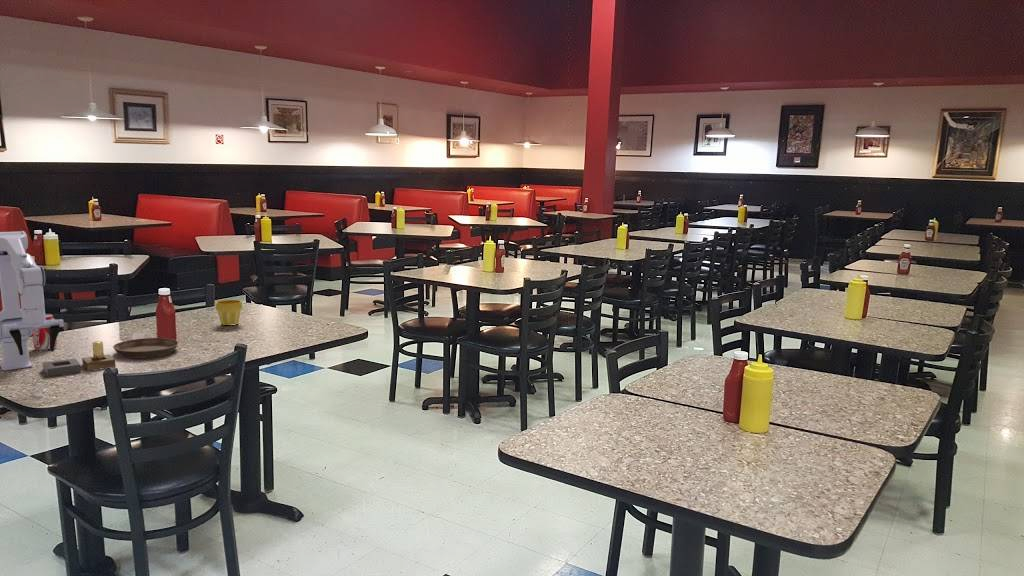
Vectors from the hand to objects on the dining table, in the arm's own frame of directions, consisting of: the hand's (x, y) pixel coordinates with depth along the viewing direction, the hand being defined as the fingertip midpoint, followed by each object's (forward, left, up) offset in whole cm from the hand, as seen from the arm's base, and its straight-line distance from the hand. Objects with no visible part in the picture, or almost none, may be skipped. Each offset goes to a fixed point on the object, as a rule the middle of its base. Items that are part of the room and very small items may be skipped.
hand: (36, 352), depth 215 cm
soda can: (-46, +8, -10) cm, 48 cm away
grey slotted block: (-12, +8, -10) cm, 18 cm away
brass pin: (-12, +18, -10) cm, 24 cm away
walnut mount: (-12, +18, -10) cm, 24 cm away
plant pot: (-50, +74, -10) cm, 90 cm away
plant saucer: (-22, +35, -10) cm, 43 cm away
